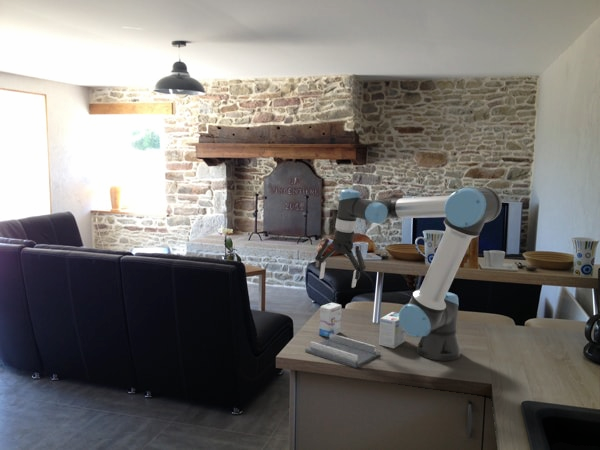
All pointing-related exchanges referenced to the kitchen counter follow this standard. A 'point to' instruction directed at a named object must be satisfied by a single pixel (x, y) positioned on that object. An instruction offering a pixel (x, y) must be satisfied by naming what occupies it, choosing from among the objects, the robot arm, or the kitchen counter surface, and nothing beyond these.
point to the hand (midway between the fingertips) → (337, 282)
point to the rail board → (344, 350)
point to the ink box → (330, 319)
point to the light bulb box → (391, 331)
